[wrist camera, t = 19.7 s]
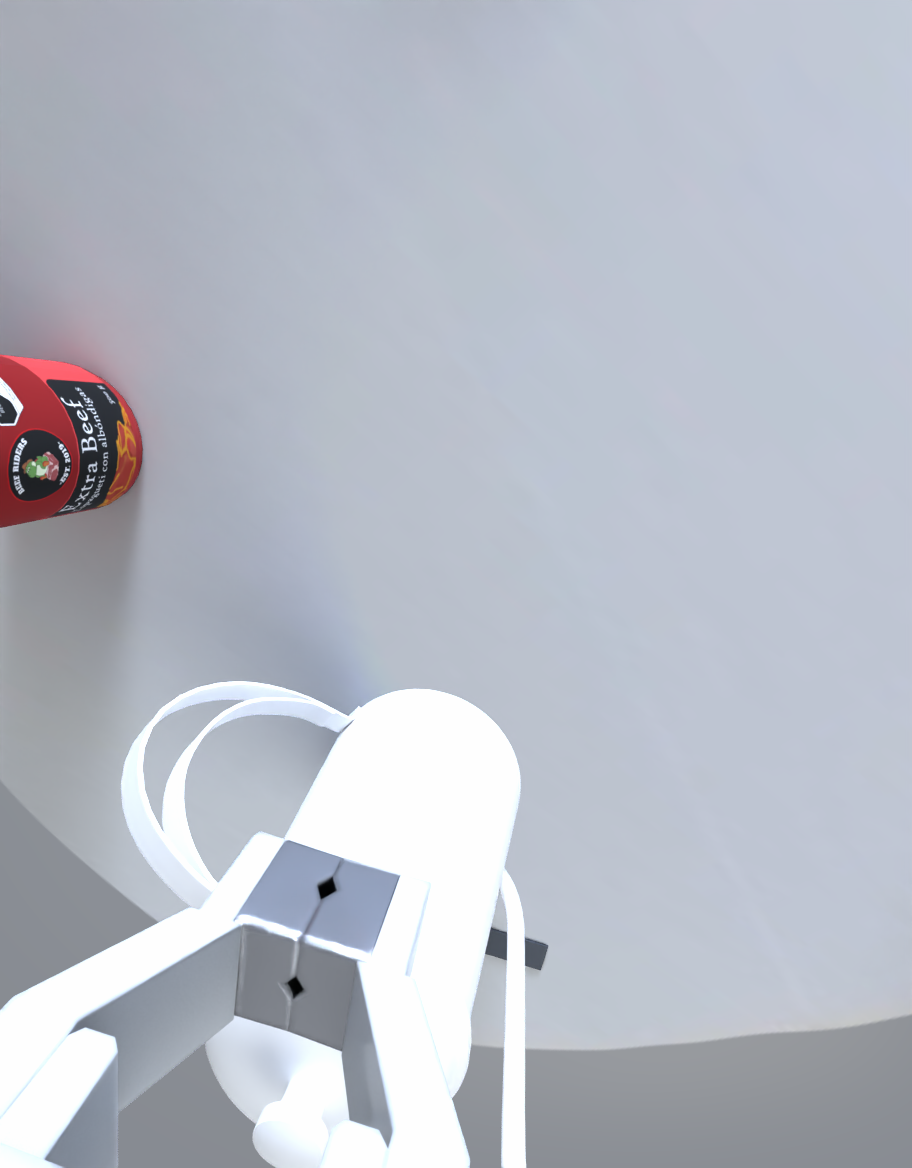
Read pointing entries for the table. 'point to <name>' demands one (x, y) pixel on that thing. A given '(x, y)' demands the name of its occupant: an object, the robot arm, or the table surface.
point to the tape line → (532, 949)
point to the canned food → (61, 441)
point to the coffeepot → (386, 840)
